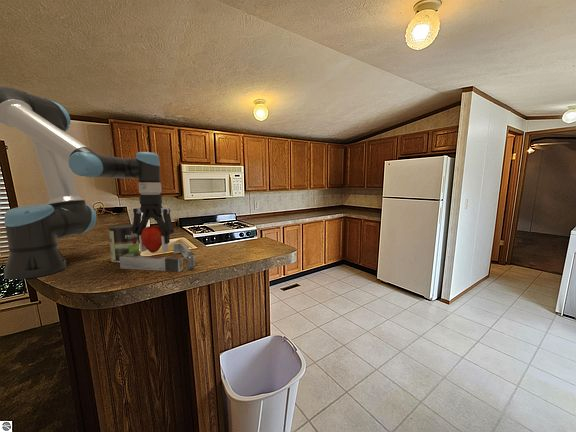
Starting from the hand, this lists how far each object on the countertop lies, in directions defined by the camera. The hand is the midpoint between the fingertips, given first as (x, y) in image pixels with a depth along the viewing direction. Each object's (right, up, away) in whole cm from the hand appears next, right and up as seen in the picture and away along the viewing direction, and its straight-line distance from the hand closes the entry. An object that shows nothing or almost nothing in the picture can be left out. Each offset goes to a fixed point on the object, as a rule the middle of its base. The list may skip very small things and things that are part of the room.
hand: (154, 251), depth 94 cm
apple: (0, -1, 0) cm, 1 cm away
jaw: (+8, -4, +7) cm, 12 cm away
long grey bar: (+4, -6, -4) cm, 8 cm away
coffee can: (-16, -4, +7) cm, 18 cm away
